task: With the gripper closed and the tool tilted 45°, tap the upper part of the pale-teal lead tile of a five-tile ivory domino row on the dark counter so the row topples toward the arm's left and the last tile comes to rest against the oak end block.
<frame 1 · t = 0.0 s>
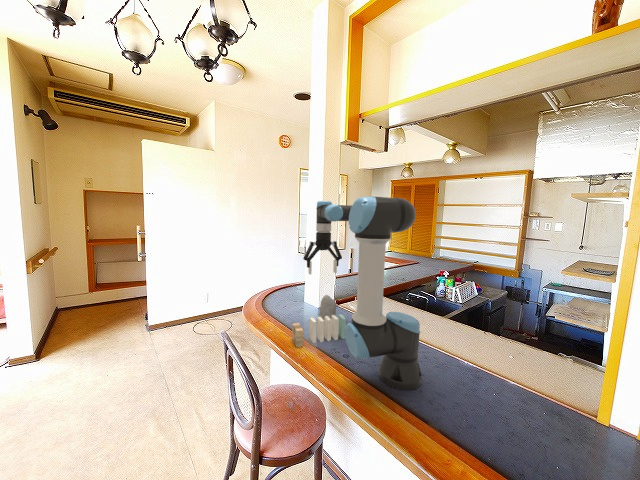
hand: (322, 273, 137), 28 cm above the worktop, tool pointing down, fingers open, 13 cm apart
domino 2: (334, 337, 127), on the worktop
decorative stone: (326, 324, 142), on the worktop
domino 3: (327, 338, 126), on the worktop
domino 1: (341, 336, 128), on the worktop
end block: (297, 342, 121), on the worktop
domino 5: (312, 340, 123), on the worktop
domino 4: (320, 339, 125), on the worktop
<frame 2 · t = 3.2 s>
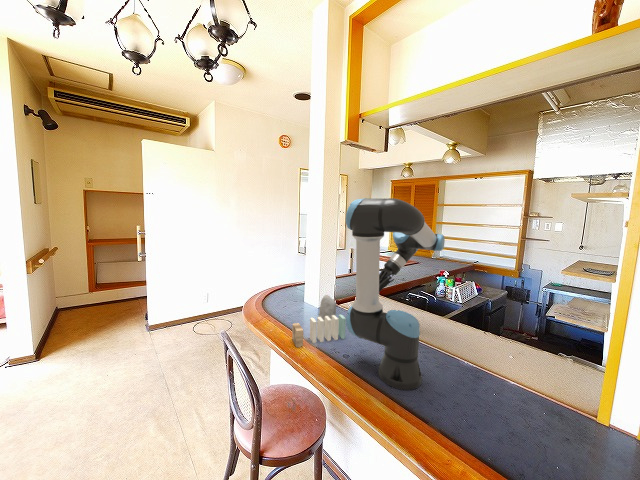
hand: (363, 299, 130), 17 cm above the worktop, tool tilted 45°, fingers closed
nothing on the worktop moved.
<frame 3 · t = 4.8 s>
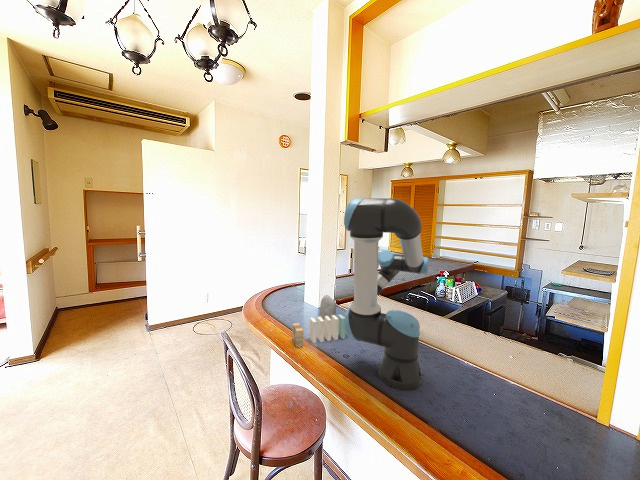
hand: (345, 320, 128), 8 cm above the worktop, tool tilted 45°, fingers closed
nothing on the worktop moved.
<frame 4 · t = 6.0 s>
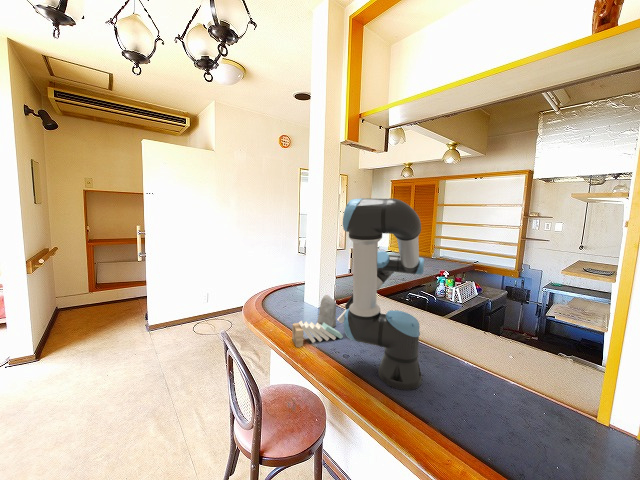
hand: (339, 321, 127), 8 cm above the worktop, tool tilted 45°, fingers closed
domino 2: (333, 336, 127), point 1 cm above the worktop, tilted 52°, touching domino 3
domino 3: (326, 337, 126), point 1 cm above the worktop, tilted 47°, touching domino 2, domino 4
domino 1: (340, 335, 128), point 1 cm above the worktop, tilted 55°
domino 5: (312, 339, 123), on the worktop, tilted 34°, touching domino 4, end block
domino 4: (319, 338, 124), point 1 cm above the worktop, tilted 41°, touching domino 3, domino 5
everything else where it was.
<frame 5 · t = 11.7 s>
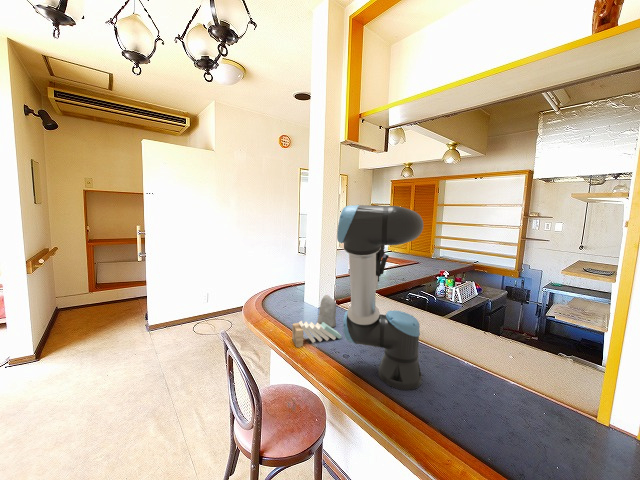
hand: (374, 288, 131), 22 cm above the worktop, tool pointing down, fingers closed
domino 2: (333, 336, 127), point 1 cm above the worktop, tilted 52°, touching domino 1, domino 3
domino 1: (338, 335, 128), point 1 cm above the worktop, tilted 53°, touching domino 2
everything else where it was.
at the end: domino 5 tilted 34°; domino 1 tilted 53° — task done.
